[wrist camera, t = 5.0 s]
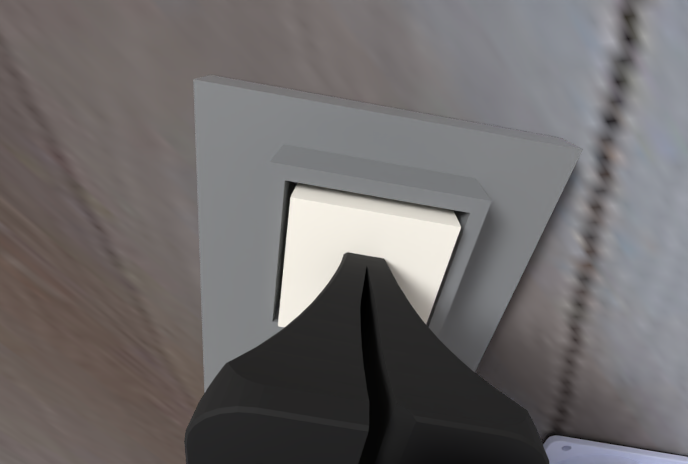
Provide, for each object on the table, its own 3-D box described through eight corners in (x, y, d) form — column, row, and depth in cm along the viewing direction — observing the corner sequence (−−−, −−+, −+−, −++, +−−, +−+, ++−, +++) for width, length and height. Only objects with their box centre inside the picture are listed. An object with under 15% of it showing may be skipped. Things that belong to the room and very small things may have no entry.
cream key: (446, 195, 13) (461, 227, 11) (410, 305, 16) (417, 349, 13) (303, 170, 13) (290, 197, 11) (290, 285, 16) (277, 326, 13)
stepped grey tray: (562, 138, 13) (618, 169, 10) (398, 500, 26) (402, 563, 23) (211, 74, 13) (162, 87, 10) (216, 471, 26) (195, 530, 23)
